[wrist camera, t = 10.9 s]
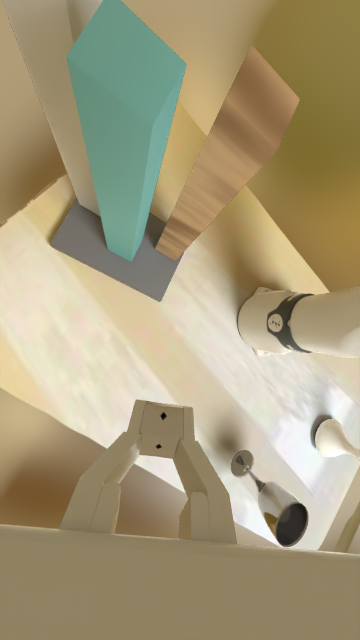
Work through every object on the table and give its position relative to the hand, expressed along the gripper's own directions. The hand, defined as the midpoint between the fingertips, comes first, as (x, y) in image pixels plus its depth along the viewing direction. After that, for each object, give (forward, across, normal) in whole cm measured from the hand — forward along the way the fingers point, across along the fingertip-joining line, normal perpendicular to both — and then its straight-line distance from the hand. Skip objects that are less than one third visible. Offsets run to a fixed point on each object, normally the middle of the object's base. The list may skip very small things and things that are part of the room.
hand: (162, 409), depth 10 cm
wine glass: (+18, -26, +44) cm, 55 cm away
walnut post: (+37, +3, -3) cm, 37 cm away
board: (+36, +12, -2) cm, 38 cm away
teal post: (+34, +12, -2) cm, 35 cm away
